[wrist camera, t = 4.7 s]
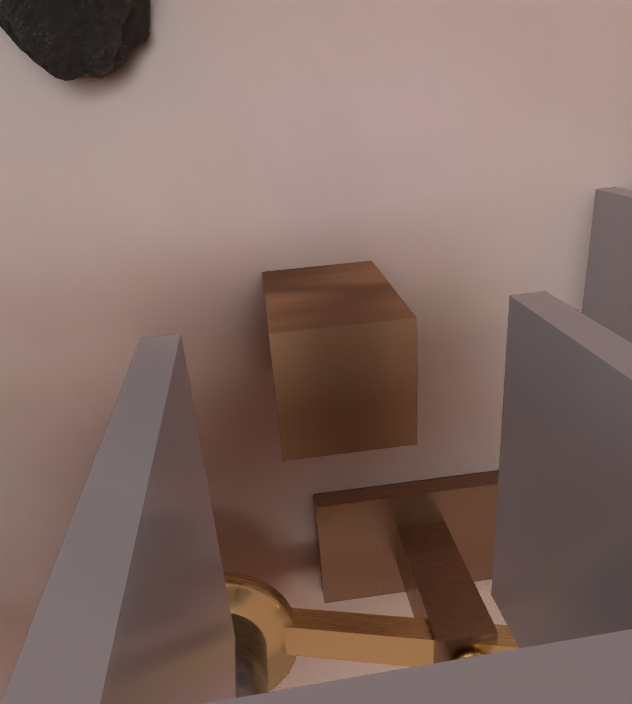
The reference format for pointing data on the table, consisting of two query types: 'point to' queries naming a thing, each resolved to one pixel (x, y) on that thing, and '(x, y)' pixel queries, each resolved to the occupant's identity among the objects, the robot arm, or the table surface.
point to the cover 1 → (382, 688)
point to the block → (341, 360)
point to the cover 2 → (610, 262)
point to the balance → (381, 583)
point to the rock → (76, 33)
